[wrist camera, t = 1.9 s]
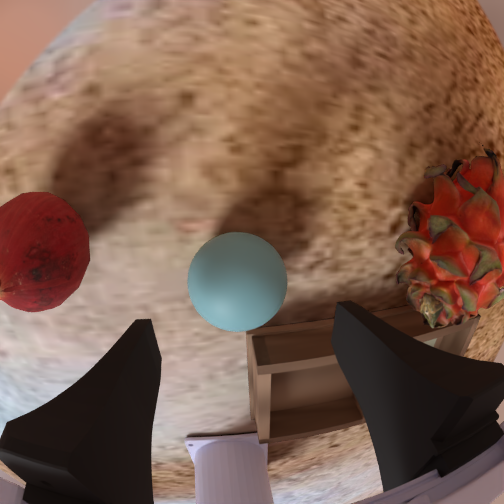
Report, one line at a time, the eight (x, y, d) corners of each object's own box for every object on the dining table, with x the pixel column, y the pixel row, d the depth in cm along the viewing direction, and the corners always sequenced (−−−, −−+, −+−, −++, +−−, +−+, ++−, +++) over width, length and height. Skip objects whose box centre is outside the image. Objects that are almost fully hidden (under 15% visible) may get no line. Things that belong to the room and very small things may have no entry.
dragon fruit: (371, 290, 21) (421, 147, 19) (460, 330, 18) (509, 190, 16) (367, 318, 14) (440, 100, 11) (494, 374, 11) (561, 168, 8)
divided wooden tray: (429, 373, 25) (444, 394, 22) (250, 414, 23) (255, 445, 20) (460, 293, 21) (483, 313, 18) (245, 329, 19) (252, 364, 16)
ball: (276, 294, 18) (295, 346, 14) (195, 300, 18) (192, 355, 13) (276, 216, 17) (301, 252, 12) (186, 223, 16) (175, 261, 11)
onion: (108, 179, 14) (29, 225, 7) (111, 274, 17) (61, 364, 9) (26, 179, 13) (-64, 221, 6) (35, 266, 16) (-31, 338, 8)
